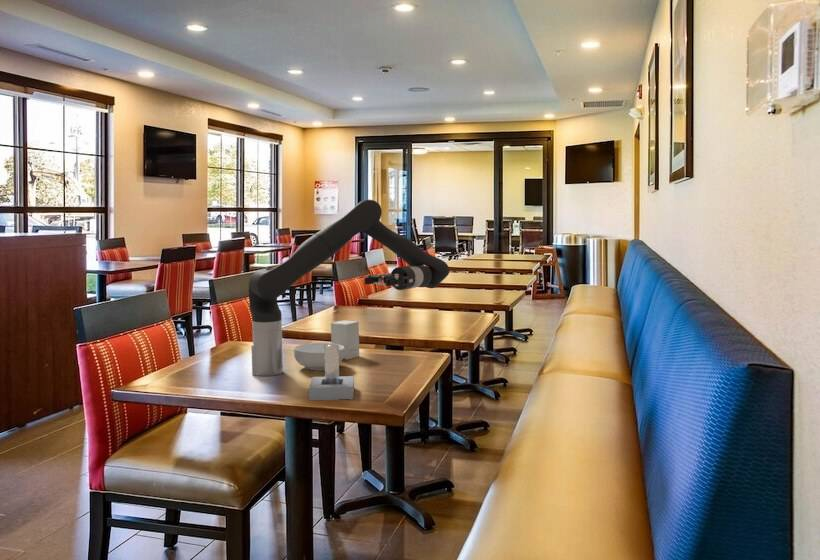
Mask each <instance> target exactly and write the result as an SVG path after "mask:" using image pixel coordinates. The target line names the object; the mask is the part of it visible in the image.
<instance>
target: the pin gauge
mask: <svg viewBox="0 0 820 560" xmlns="http://www.w3.org/2000/svg"><path fill="white" fill-rule="evenodd" d="M324 357H325V370H324V377H325V385H338V384H339V376H340V363H339V348H338V344H327V345H324Z"/></svg>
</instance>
